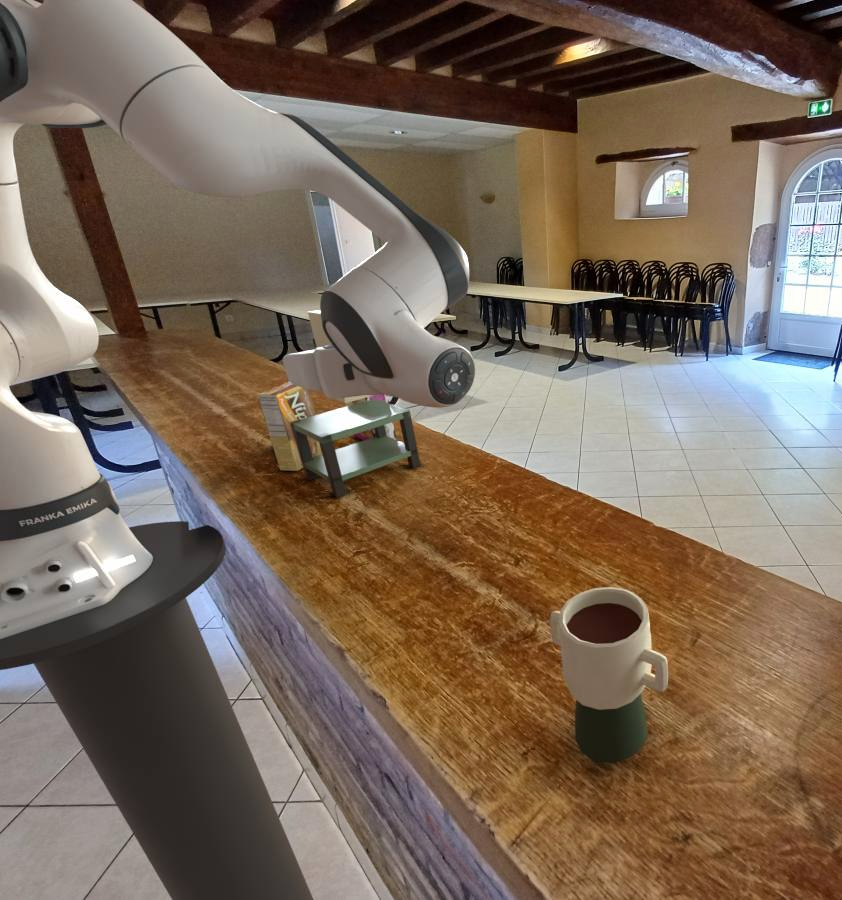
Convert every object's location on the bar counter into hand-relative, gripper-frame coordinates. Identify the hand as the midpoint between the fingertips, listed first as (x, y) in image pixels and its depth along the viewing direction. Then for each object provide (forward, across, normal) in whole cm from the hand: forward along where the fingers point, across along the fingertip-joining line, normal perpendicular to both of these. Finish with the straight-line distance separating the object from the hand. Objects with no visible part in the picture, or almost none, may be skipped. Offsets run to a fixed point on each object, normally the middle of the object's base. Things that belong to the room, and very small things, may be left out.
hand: (341, 350), depth 83 cm
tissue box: (-1, 0, +7) cm, 7 cm away
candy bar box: (+27, -14, +25) cm, 39 cm away
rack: (+12, -4, +25) cm, 28 cm away
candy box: (+27, +1, +25) cm, 37 cm away
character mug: (-61, +10, +25) cm, 67 cm away
